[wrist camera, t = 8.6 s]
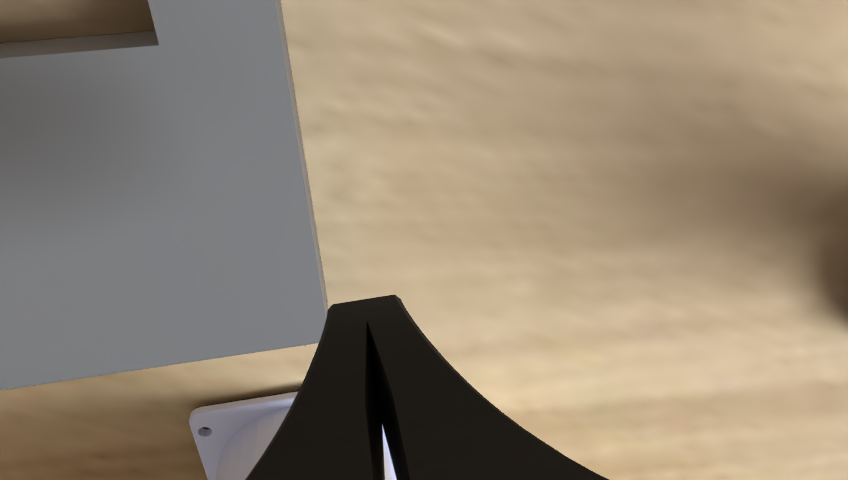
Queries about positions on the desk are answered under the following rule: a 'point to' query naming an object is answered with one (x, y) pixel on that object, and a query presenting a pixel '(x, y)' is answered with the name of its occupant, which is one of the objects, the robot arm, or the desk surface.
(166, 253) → the trap board
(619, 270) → the desk surface
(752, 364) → the desk surface
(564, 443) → the desk surface
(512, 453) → the robot arm
